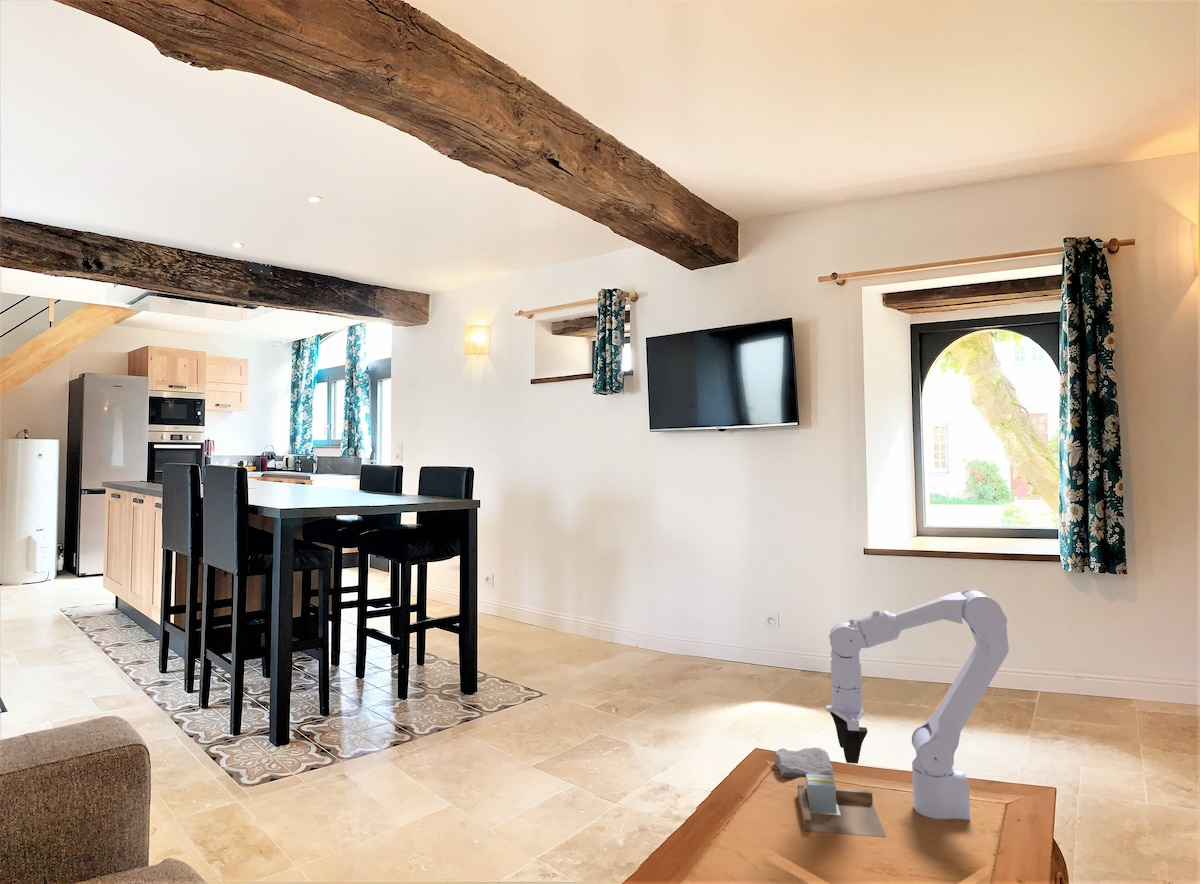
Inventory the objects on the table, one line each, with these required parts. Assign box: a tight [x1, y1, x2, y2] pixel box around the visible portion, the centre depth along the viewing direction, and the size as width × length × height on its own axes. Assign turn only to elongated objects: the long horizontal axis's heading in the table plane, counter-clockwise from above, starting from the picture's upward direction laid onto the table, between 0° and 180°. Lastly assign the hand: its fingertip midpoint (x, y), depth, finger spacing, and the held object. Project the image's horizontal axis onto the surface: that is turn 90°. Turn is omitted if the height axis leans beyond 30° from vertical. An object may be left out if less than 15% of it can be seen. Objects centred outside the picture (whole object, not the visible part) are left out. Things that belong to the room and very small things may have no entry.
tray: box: [797, 785, 887, 838], centre depth 133 cm, size 14×14×3 cm
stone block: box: [774, 747, 835, 779], centre depth 155 cm, size 12×5×10 cm
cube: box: [805, 774, 837, 813], centre depth 136 cm, size 5×5×5 cm
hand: (848, 754), depth 140 cm, fingers open, 7 cm apart
